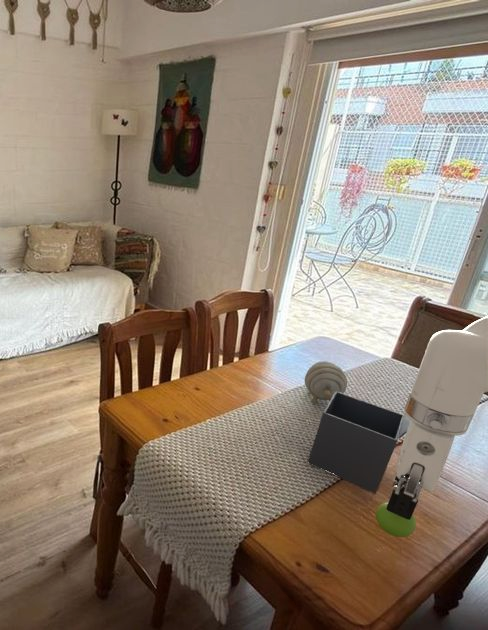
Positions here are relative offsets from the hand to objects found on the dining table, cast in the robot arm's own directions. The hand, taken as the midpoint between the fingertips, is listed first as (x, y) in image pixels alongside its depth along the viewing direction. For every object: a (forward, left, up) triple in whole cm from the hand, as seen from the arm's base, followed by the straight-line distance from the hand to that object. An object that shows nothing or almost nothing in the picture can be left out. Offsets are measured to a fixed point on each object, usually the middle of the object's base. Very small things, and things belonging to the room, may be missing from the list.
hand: (400, 501), depth 72 cm
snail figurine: (0, 0, -7) cm, 7 cm away
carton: (+9, -27, -16) cm, 32 cm away
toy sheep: (+21, -52, -16) cm, 59 cm away
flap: (+2, -27, +2) cm, 27 cm away
